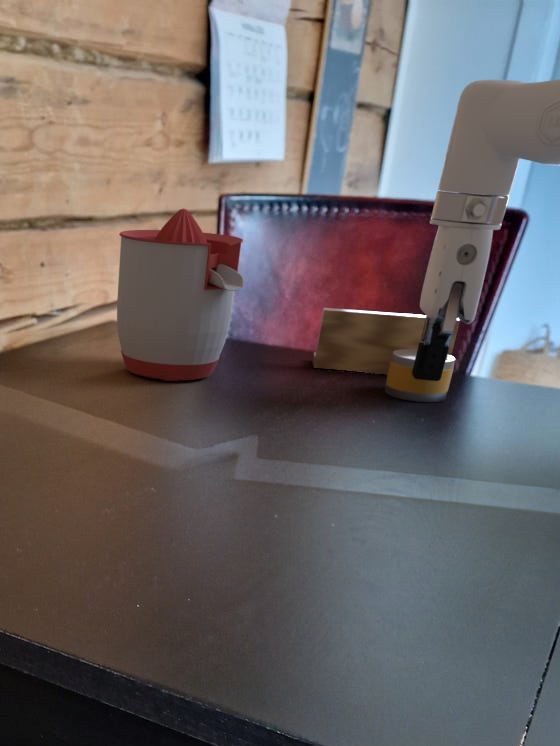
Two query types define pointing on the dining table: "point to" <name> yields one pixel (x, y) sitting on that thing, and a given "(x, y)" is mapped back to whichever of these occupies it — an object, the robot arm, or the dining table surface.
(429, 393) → the tin can
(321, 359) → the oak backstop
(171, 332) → the citrus juicer
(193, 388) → the dining table surface
